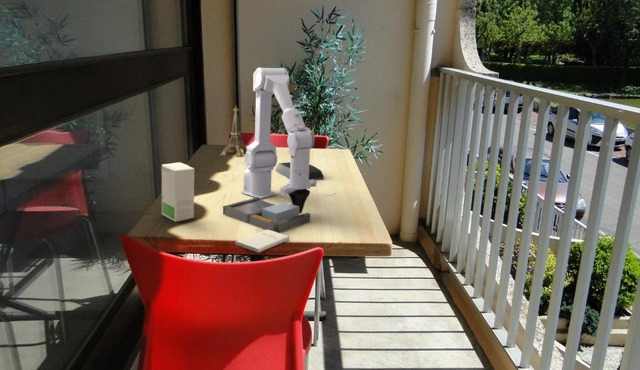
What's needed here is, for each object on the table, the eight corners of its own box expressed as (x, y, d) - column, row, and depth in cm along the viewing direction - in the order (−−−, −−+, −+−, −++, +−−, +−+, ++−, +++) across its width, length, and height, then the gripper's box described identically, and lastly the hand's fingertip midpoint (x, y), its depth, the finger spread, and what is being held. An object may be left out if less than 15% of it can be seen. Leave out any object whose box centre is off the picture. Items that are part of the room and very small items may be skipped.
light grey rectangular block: (261, 221, 160) (261, 208, 158) (284, 214, 167) (285, 201, 166) (276, 226, 156) (276, 213, 155) (299, 218, 163) (299, 206, 162)
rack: (223, 214, 164) (223, 205, 163) (257, 204, 175) (257, 196, 174) (276, 233, 150) (276, 223, 149) (309, 221, 161) (310, 212, 160)
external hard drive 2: (296, 183, 203) (297, 173, 202) (273, 171, 219) (273, 162, 218) (325, 180, 210) (326, 170, 209) (301, 169, 226) (301, 159, 225)
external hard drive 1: (235, 246, 141) (266, 234, 151) (258, 254, 137) (289, 241, 146) (235, 240, 141) (266, 228, 150) (258, 249, 136) (289, 235, 146)
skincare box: (161, 215, 160) (159, 164, 156) (181, 210, 165) (179, 161, 161) (176, 222, 155) (174, 170, 151) (195, 218, 159) (195, 167, 155)
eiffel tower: (240, 157, 239) (241, 101, 233) (219, 154, 242) (219, 99, 236) (251, 153, 249) (251, 99, 243) (230, 150, 252) (230, 97, 246)
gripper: (293, 176, 154) (291, 221, 157) (324, 168, 165) (322, 210, 168) (275, 171, 158) (274, 215, 162) (307, 164, 169) (305, 205, 173)
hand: (298, 212), depth 165 cm, fingers closed
